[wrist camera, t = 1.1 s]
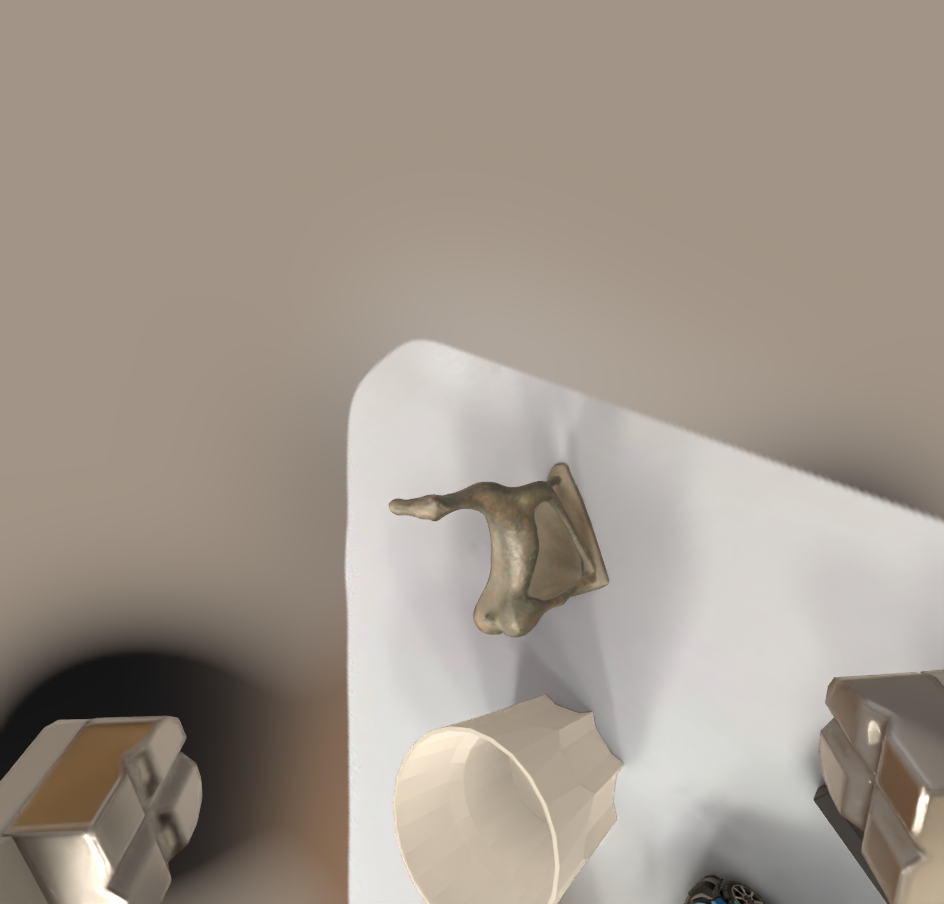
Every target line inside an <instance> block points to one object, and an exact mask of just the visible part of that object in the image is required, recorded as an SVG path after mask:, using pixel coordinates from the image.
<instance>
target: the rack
mask: <svg viewBox="0 0 944 904" xmlns="http://www.w3.org/2000/svg"><path fill="white" fill-rule="evenodd" d="M814 801H815V803H816V804H817V805H818V807H819V808H820V810H821V811H822V812H823V814H824V815H825V817H826V818H827V819H828V821H829V822H830V824H831V825H832V826H833V828H834V829H835V831H836V832H837V833H838V835H839V836H840V838H841V839H842V840H843V842H844V843H845V845H846V846H847V848H848V849H849V850H850V852H851V853H852V855H853V856H854V857H855V859H856V860H857V862H858V863H859V864H860V866H861V867H862V869H863V870H864V871H865V873H866V874H867V876H868V877H869V878H870V880H871V881H872V883H873V884H874V885H875V887H876V888H877V890H878V891H879V892H880V894H881V895H882V897H883V898H884V899H885V901H886V902H887V904H890V902H889V901H888V899H887V897H886V895H885V893H884V892H883V890H882V888H881V886H880V885H879V883H878V881H877V879H876V877H875V876H874V874H873V872H872V870H871V869H870V867H869V865H868V863H867V861H866V860H865V858H864V856H863V854H862V853H861V849H862V843H863V838H864V833H865V832H864V831H862V830H861V829H860V828H858V827H857V826H855V825H854V824H853V823H851V822H850V821H849V820H847V819H846V818H844V817H843V816H842V815H840V813H839V811H838V809H837V807H836V805H835V803H834V801H833V800H832V798H831V796H830V794H829V791H828V788H827V786H826V785H824V786H821V787H819V788H818V789H817V792H816V794H815V797H814Z"/></svg>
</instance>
